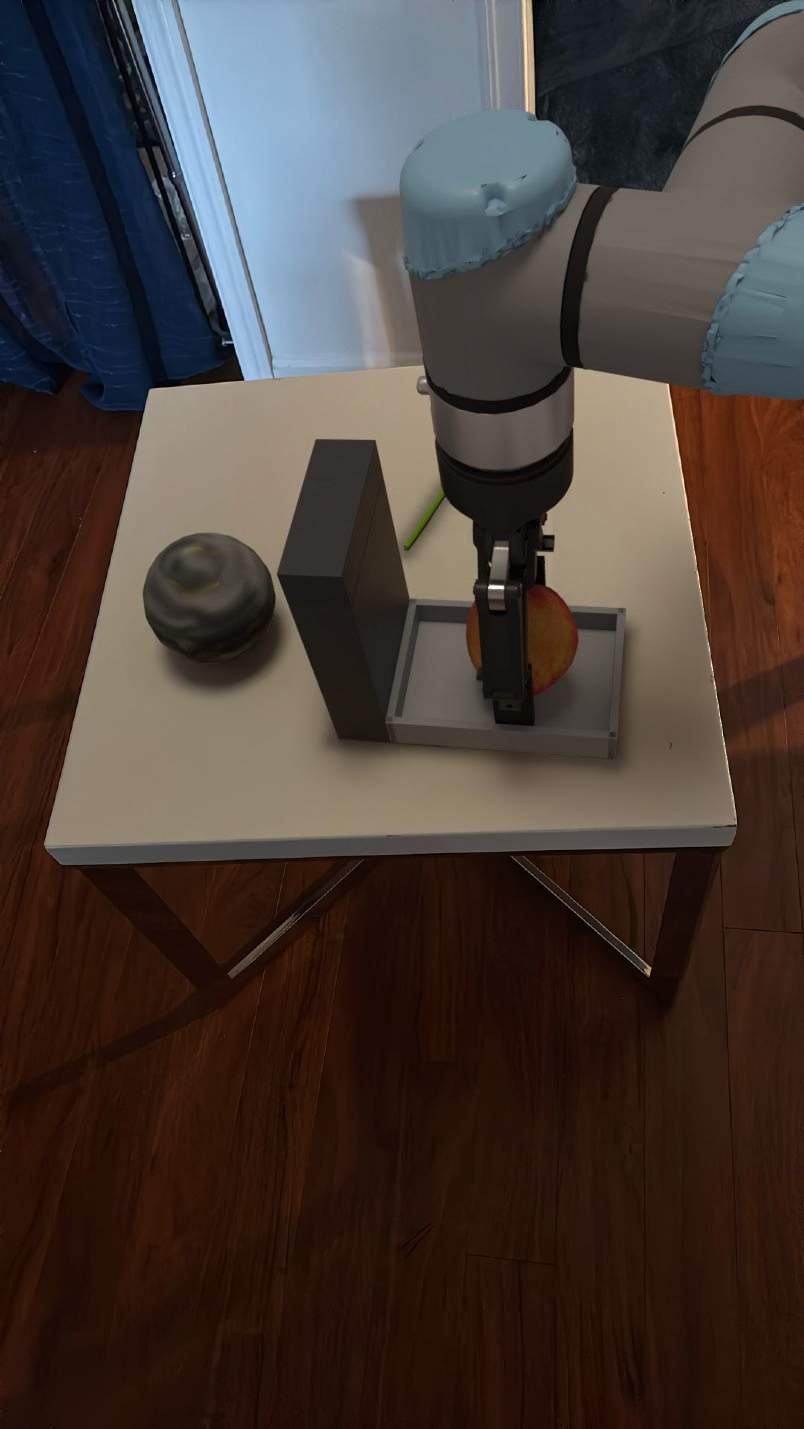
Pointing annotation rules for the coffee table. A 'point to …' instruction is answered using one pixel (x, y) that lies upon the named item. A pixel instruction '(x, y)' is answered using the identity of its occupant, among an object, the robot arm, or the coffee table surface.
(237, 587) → the decorative stone
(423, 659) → the tray with tall back
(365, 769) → the coffee table surface
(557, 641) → the fruit
